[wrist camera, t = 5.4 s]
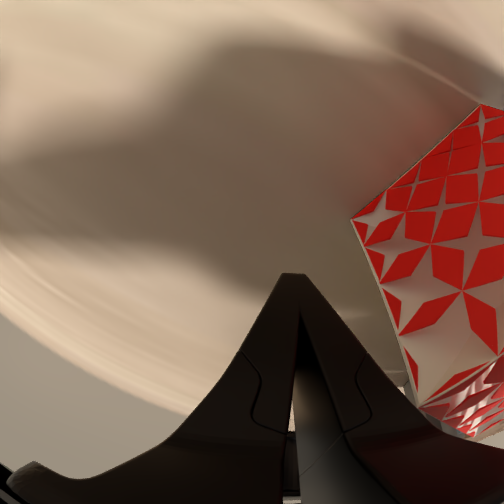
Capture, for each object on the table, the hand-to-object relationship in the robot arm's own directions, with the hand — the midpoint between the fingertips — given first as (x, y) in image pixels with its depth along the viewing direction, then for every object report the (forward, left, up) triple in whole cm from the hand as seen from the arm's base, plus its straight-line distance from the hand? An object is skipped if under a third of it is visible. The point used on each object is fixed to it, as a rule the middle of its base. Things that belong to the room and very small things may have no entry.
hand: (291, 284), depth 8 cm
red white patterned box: (+8, +1, -4) cm, 9 cm away
